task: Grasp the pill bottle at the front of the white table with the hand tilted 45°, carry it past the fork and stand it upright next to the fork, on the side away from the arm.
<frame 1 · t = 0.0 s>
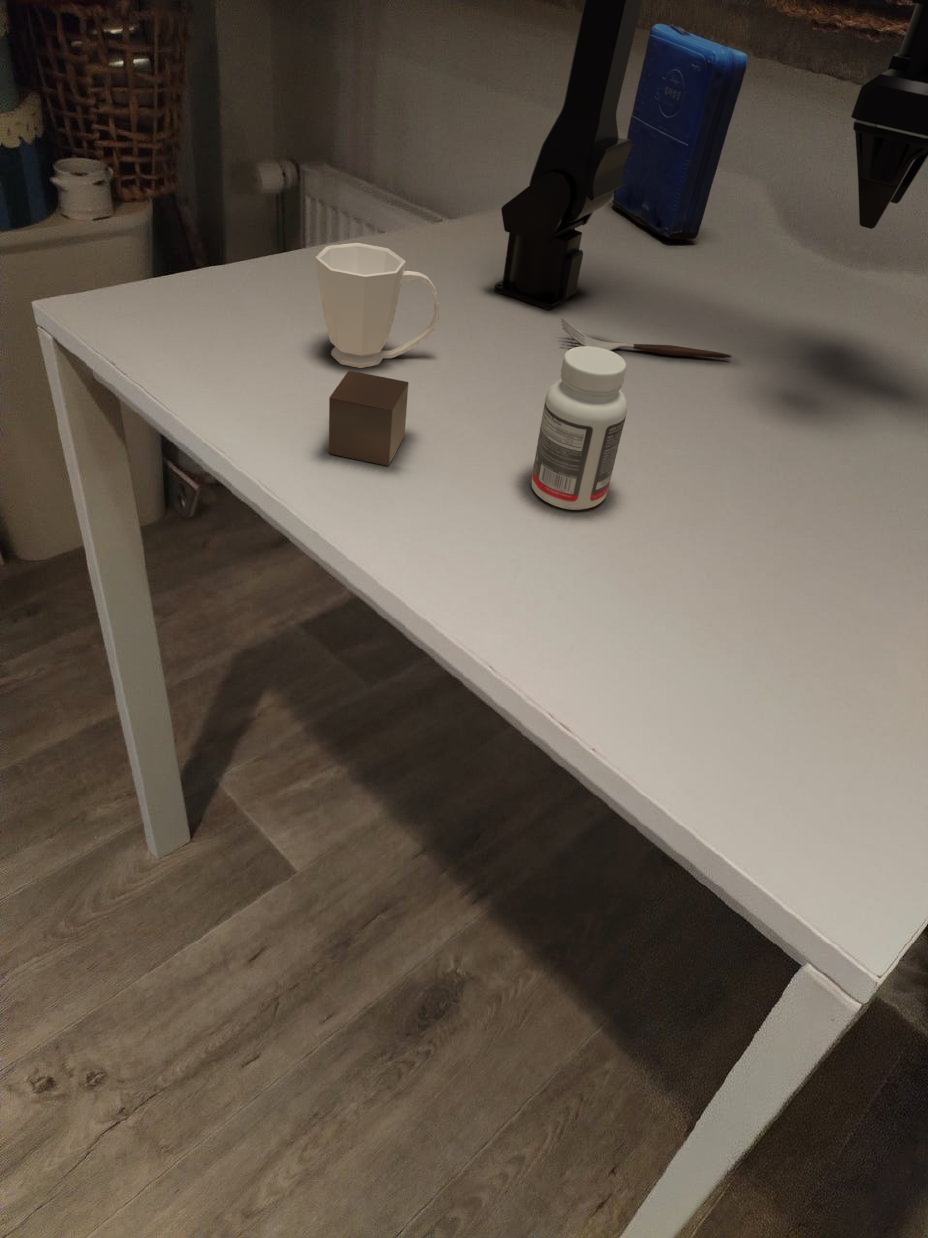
hand: (879, 213, 71), 15 cm above the table, tool pointing down, fingers open, 9 cm apart
cup: (375, 358, 76), on the table
pill bottle: (567, 492, 63), on the table
fork: (643, 354, 82), on the table
walnut block: (367, 445, 65), on the table
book: (651, 226, 111), on the table
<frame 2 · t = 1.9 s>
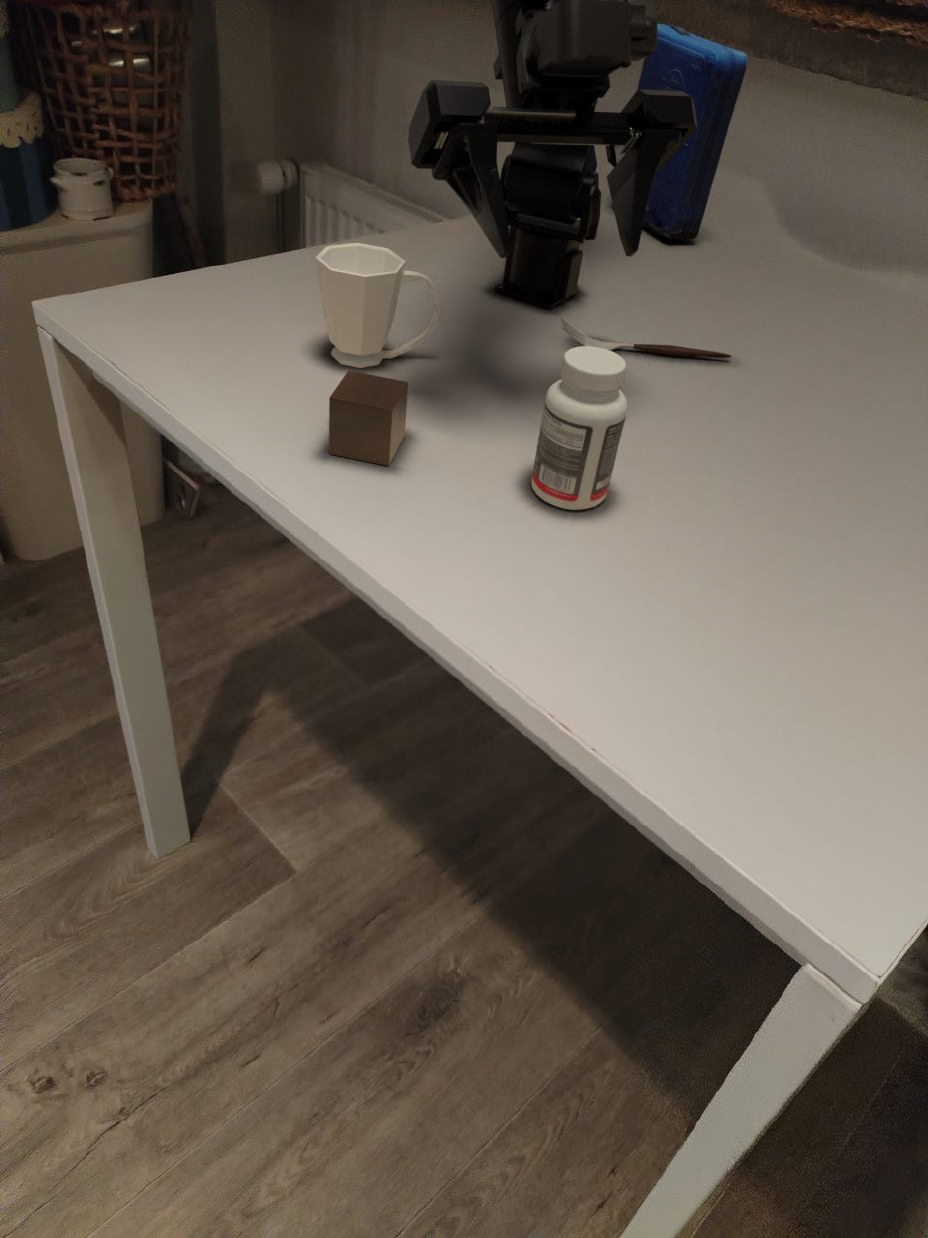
hand: (570, 254, 60), 13 cm above the table, tool tilted 45°, fingers open, 9 cm apart
nothing on the table moved.
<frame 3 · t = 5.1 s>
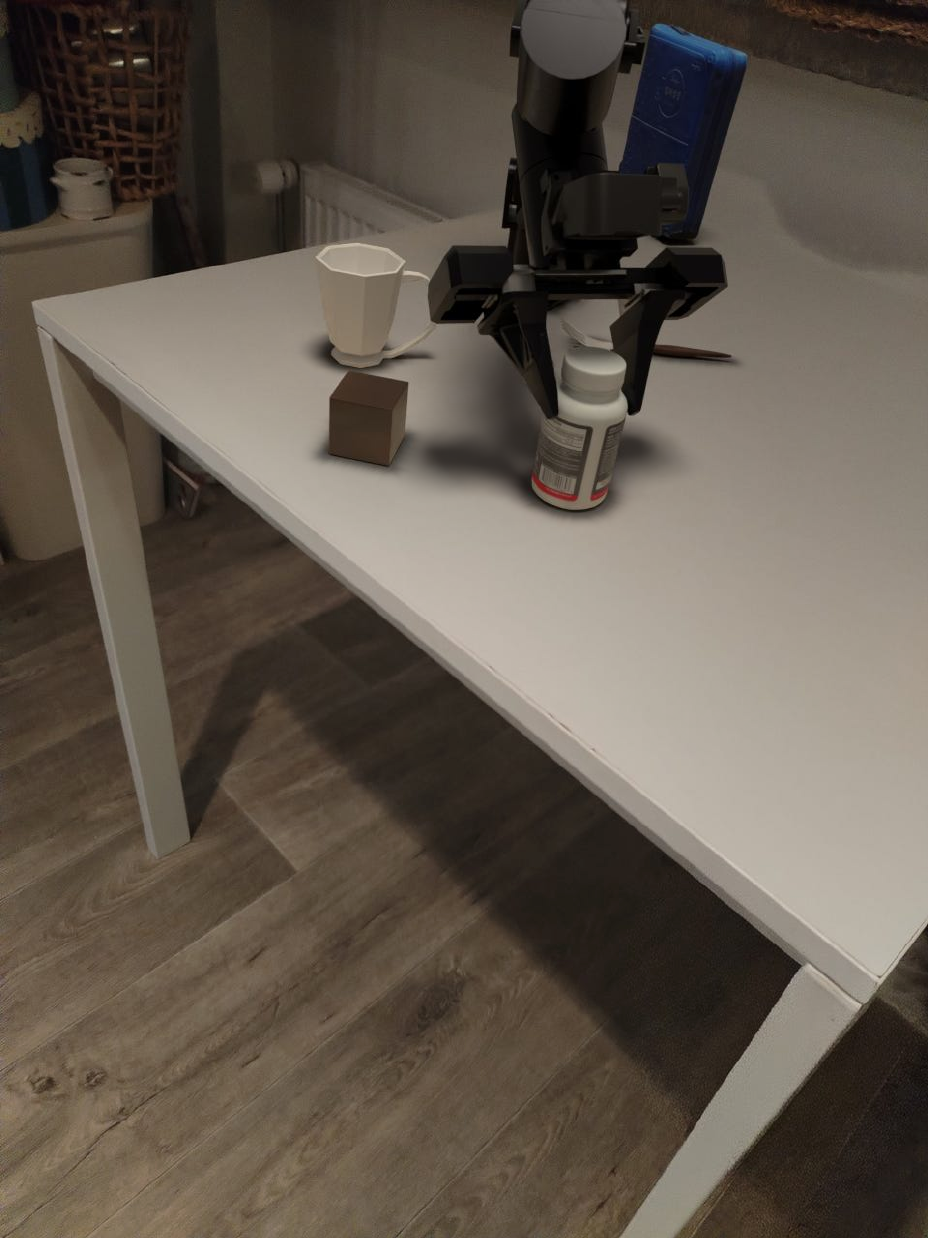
hand: (594, 415, 58), 7 cm above the table, tool tilted 45°, fingers closed on pill bottle, 5 cm apart
pill bottle: (567, 492, 63), on the table, touching gripper
everything else where it was.
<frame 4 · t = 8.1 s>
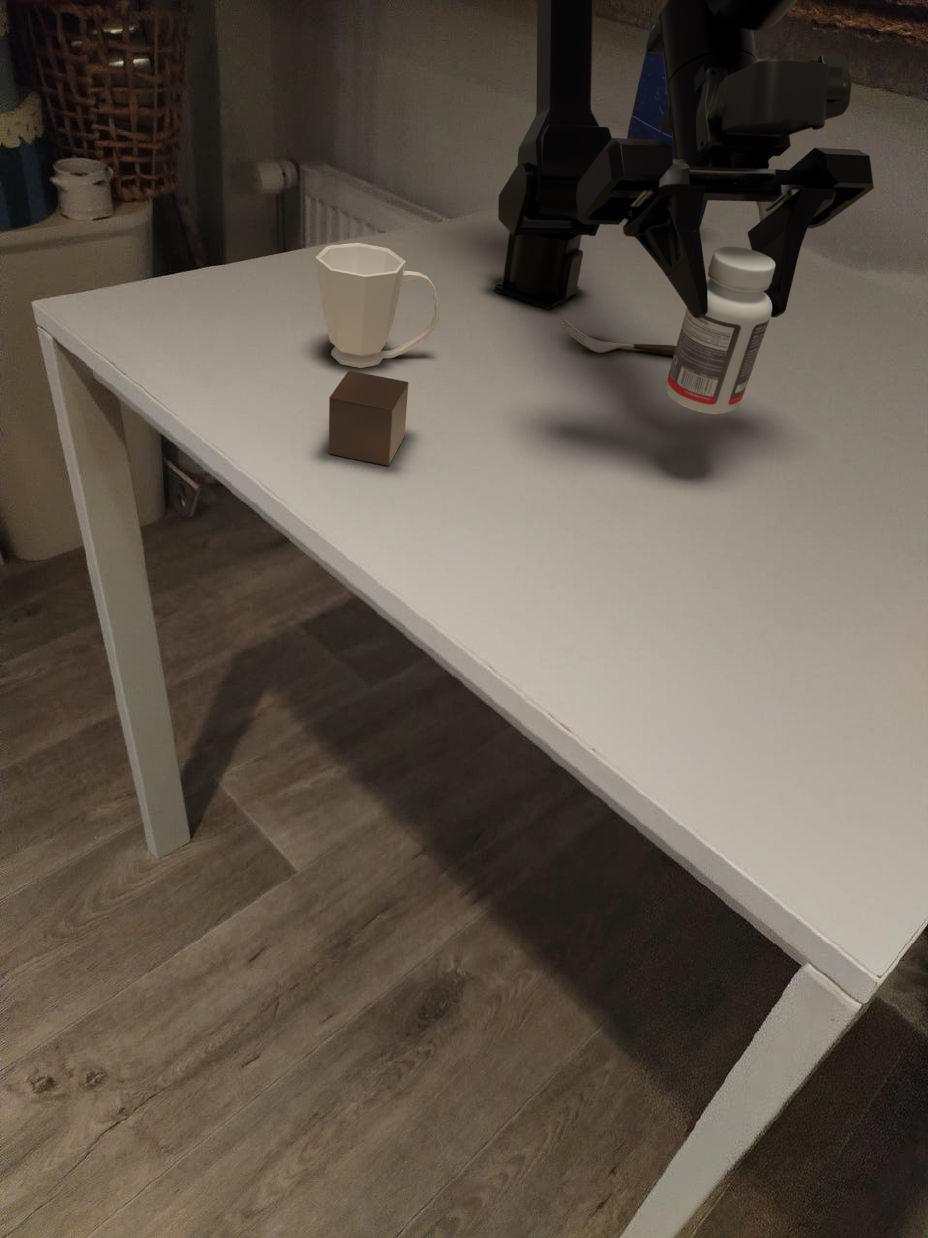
hand: (739, 315, 58), 12 cm above the table, tool tilted 45°, fingers closed on pill bottle, 5 cm apart
pill bottle: (700, 399, 64), point 5 cm above the table, touching gripper
everything else where it was.
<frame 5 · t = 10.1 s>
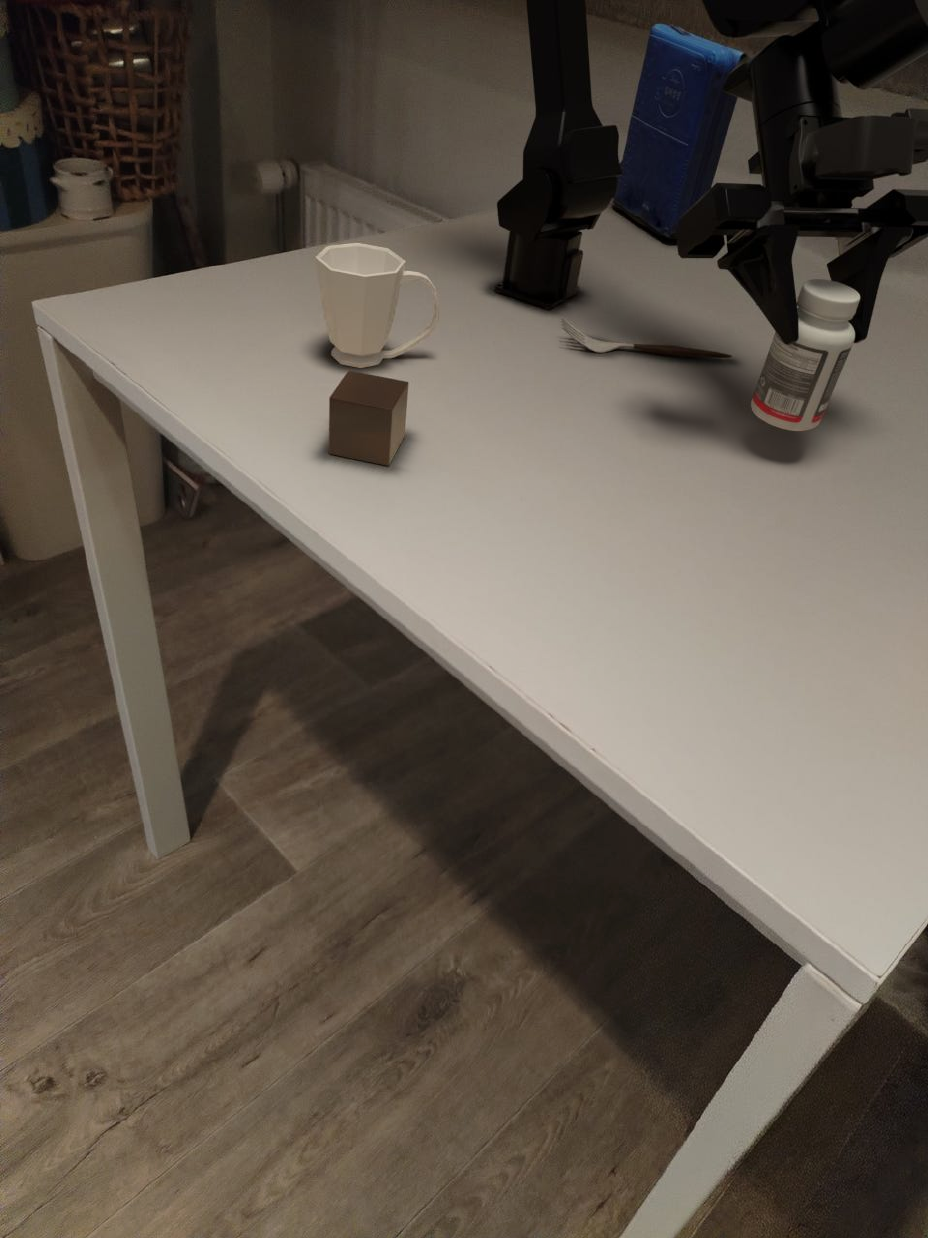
hand: (825, 341, 64), 9 cm above the table, tool tilted 45°, fingers closed on pill bottle, 5 cm apart
pill bottle: (782, 417, 69), point 3 cm above the table, touching gripper
everything else where it was.
when the fingers open (7 cm above the table, at t = 11.4 s): pill bottle stays where it is, on the table.
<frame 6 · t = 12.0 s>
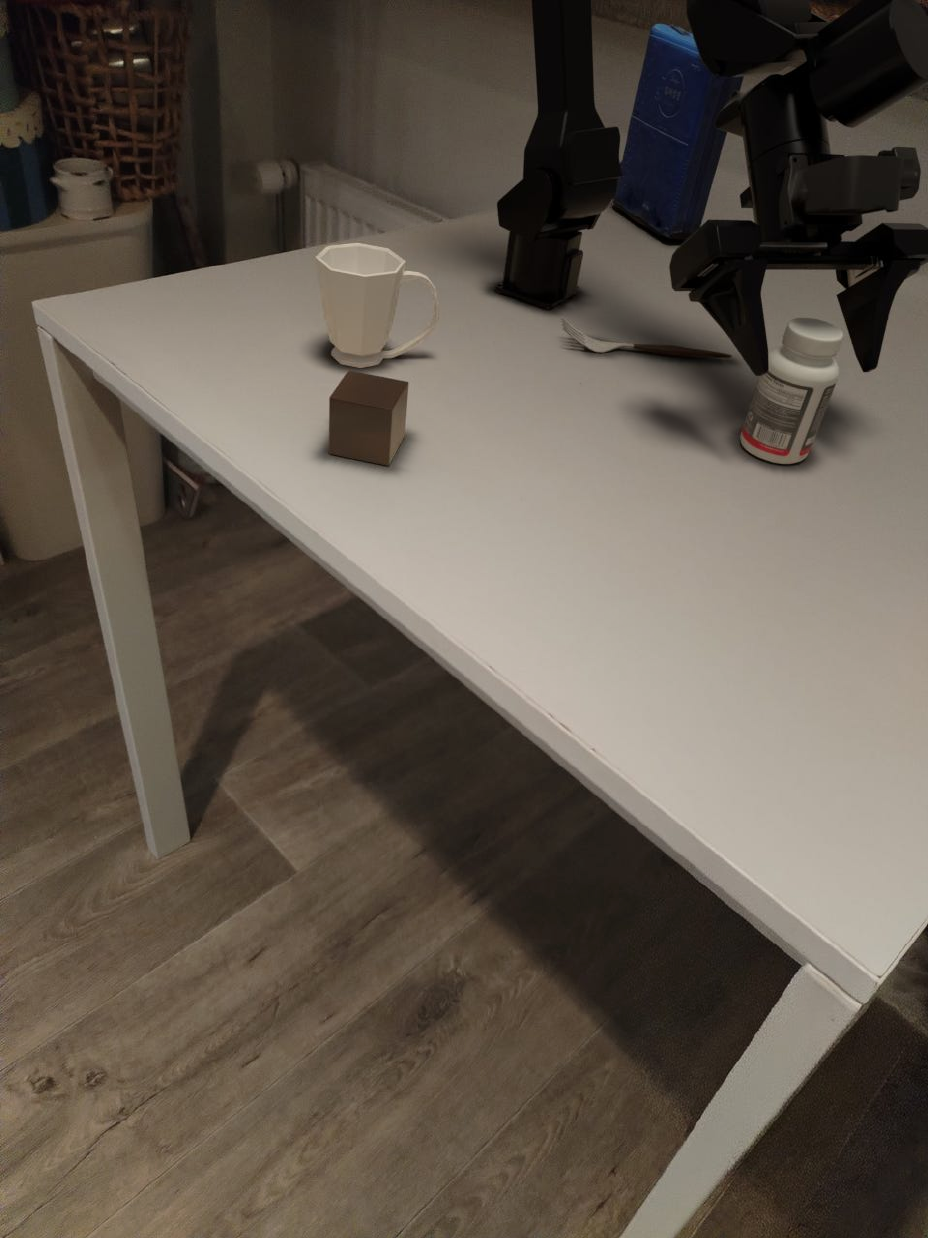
hand: (817, 372, 65), 7 cm above the table, tool tilted 45°, fingers open, 9 cm apart
pill bottle: (771, 450, 71), on the table
everything else where it was.
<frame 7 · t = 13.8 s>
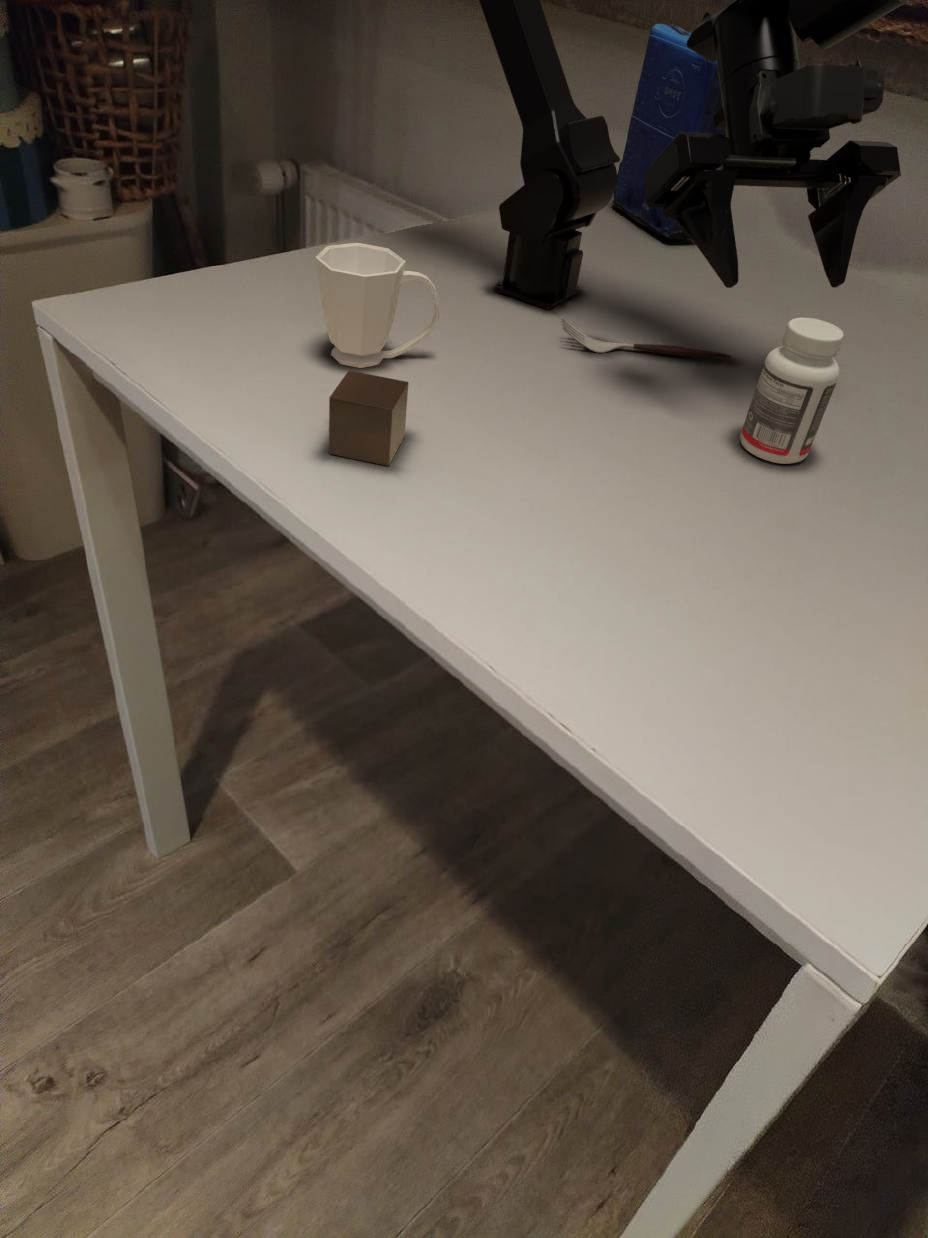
hand: (786, 285, 67), 11 cm above the table, tool tilted 45°, fingers open, 9 cm apart
nothing on the table moved.
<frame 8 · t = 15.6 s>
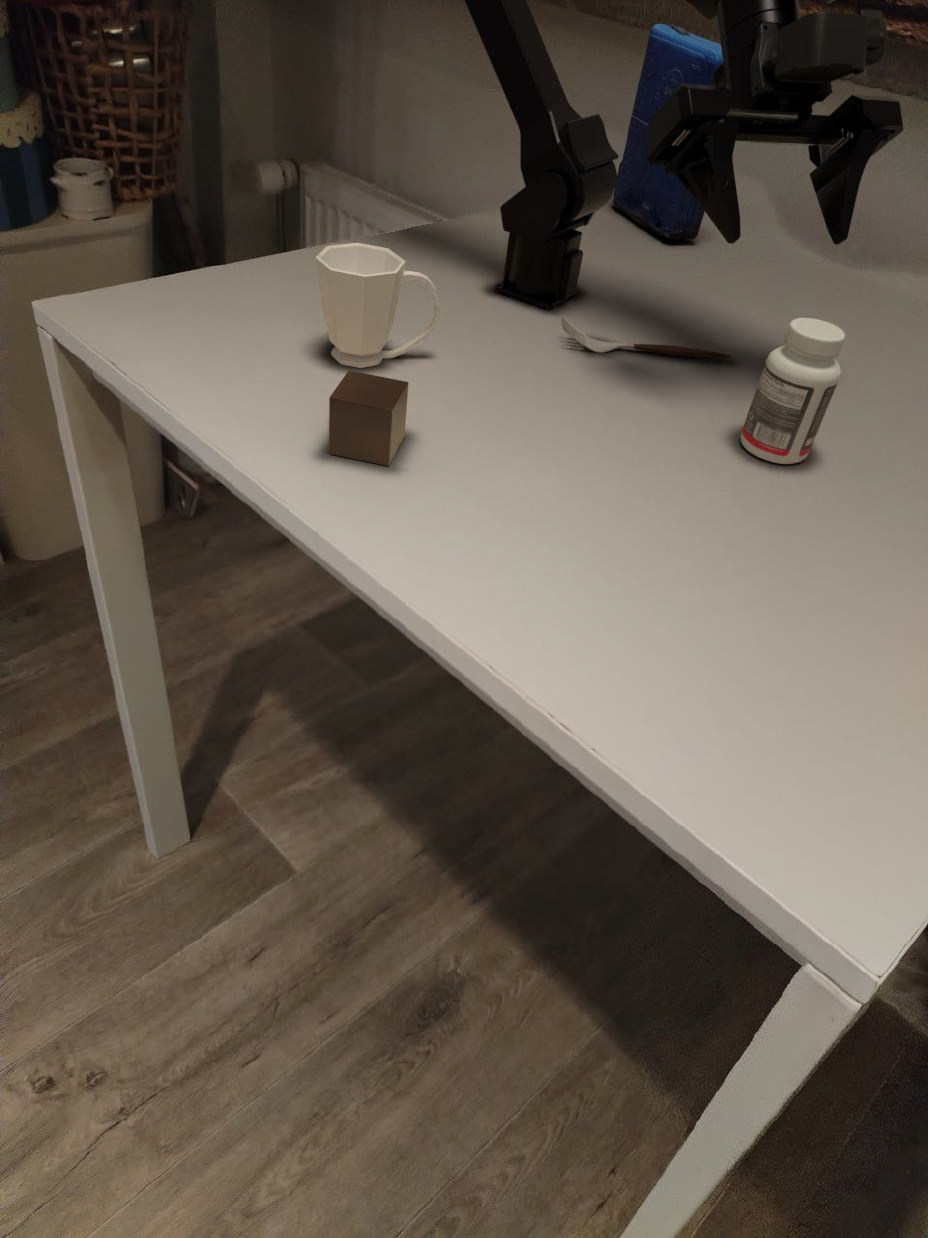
hand: (788, 241, 67), 14 cm above the table, tool tilted 45°, fingers open, 9 cm apart
nothing on the table moved.
at the end: pill bottle inside the target area on the table beside the fork (0.1 cm from its centre), on the table; pill bottle tilted 1°; the gripper is holding nothing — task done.
